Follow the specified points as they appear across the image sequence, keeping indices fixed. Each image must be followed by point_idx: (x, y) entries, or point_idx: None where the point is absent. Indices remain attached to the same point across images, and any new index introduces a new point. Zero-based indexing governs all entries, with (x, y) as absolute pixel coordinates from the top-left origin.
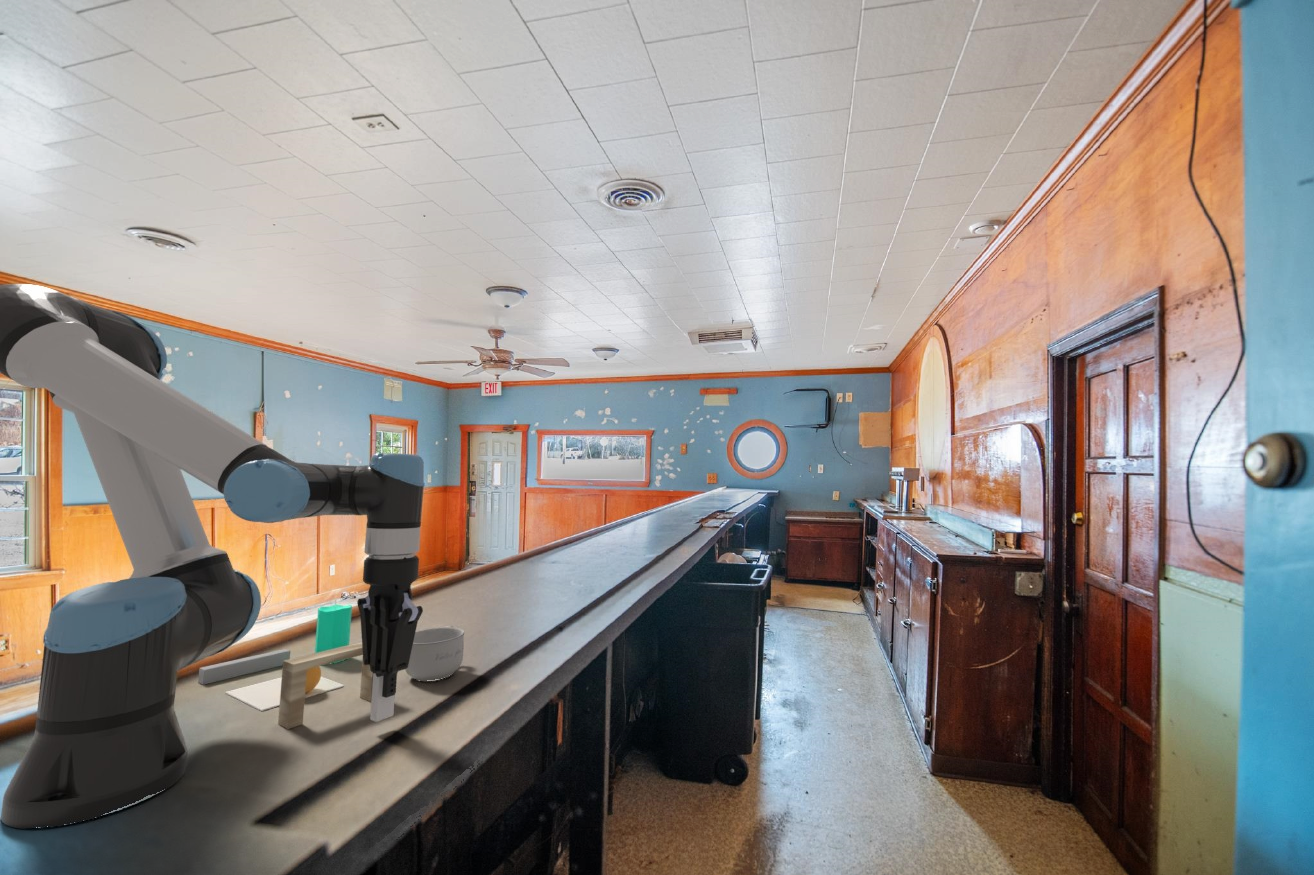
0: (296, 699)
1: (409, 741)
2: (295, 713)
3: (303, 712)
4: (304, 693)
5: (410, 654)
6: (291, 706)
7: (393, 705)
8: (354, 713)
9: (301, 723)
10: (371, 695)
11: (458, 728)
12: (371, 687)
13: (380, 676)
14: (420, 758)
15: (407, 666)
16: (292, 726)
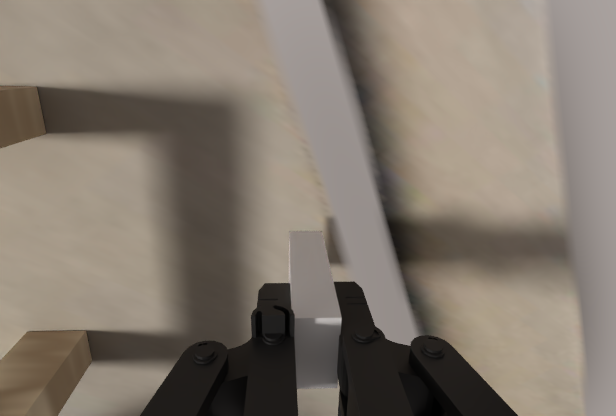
0: (49, 406)
1: (424, 233)
2: (72, 374)
3: (69, 352)
4: (39, 398)
5: (496, 394)
6: (61, 403)
7: (324, 246)
8: (114, 216)
9: (84, 335)
10: (32, 133)
11: (489, 102)
12: (13, 141)
13: (335, 377)
14: (518, 268)
15: (450, 347)
16: (89, 354)
